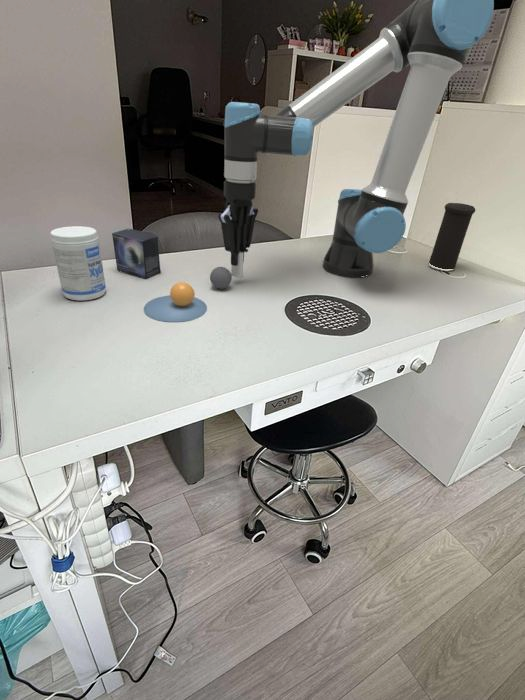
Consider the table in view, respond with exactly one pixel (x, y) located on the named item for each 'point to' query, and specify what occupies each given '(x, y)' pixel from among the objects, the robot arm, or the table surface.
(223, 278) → the charcoal ball
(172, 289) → the orange ball
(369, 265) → the robot arm
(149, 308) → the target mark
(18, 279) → the table surface
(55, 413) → the table surface
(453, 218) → the container
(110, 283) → the table surface
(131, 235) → the small box
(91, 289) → the supplement tub
